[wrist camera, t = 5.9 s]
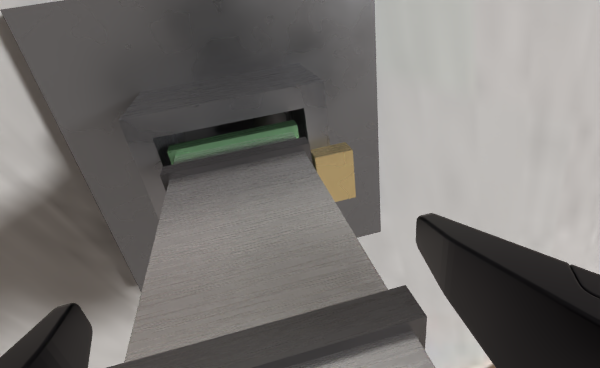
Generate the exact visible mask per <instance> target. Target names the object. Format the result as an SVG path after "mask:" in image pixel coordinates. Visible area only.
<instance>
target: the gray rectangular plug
mask: <svg viewBox="0 0 600 368" xmlns="http://www.w3.org/2000/svg"><path fill="white" fill-rule="evenodd" d="M167 153H168V156H169V158H170V161H171V164H172V165H169V166H164V167H162V170H161V173H160V177H161V180H162V183H163V185H164V188H165V191H166V195H165V199H164V203H163V207H162V211H161V216H160V220H159V224H158V228H157V232H156V236H155V240H154V244H153V248H152V252H151V256H150V260H149V264H148V268H147V272H146V276H145V280H144V284H143V288H142V292H141V296H140V300H139V305H138V309H137V313H136V317H135V321H134V325H133V329H132V333H131V337H130V341H129V345H128V349H127V353H126V357H125V361H124V363H122V364H118V365H115V366H111V367H107V368H435V366H434V365H433V363H432V361H431V360H430V358H429V356H428V355H427V353H426V351H425V338H426V322H427V316H426V315H425V313H424V312H423V310H422V309H421V307H420V306H419V304H418V303H417V301H416V300H415V298H414V297H413V295H412V294H411V292H410V291H409V289H408V288H407V286H406V285H404V286H401V287H397V288H394V289H390V290H388V289H387V287H386V285H385V284H384V282H383V280H382V279H381V277H380V275H379V274H378V272H377V270H376V269H375V267H374V266H373V264H372V262H371V261H370V259H369V257H368V256H367V254H366V252H365V251H364V249H363V247H362V246H361V244H360V242H359V241H358V239H357V237H356V236H355V234H354V233H353V231H352V229H351V228H350V226H349V224H348V223H347V221H346V219H345V218H344V216H343V214H342V213H341V211H340V209H339V208H338V206H337V204H336V203H335V201H334V199H333V198H332V196H331V195H330V193H329V191H328V190H327V188H326V186H325V185H324V183H323V181H322V180H321V178H320V176H319V175H318V173H317V171H316V170H315V168H314V166H313V164H312V157H311V149H310V143H309V142H308V140H307V139H306V137H302V138H299V134H298V127H297V124H296V122H295V121H294V120H291V121H286V122H281V123H276V124H271V125H266V126H261V127H256V128H251V129H246V130H241V131H237V132H232V133H227V134H222V135H217V136H212V137H207V138H202V139H197V140H192V141H187V142H183V143H178V144H173V145H169V147H168V151H167Z"/></svg>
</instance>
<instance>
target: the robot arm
mask: <svg viewBox="0 0 600 368" xmlns="http://www.w3.org/2000/svg"><path fill="white" fill-rule="evenodd" d="M416 243H417V246H418V249H419V250H420V252H421V254H422V256H423V258H424V259H425V261H426V263H427V265H428V267H429V268H430V270H431V272H432V274H433V276H434V277H435V279H436V281H437V283H438V285H439V286H440V288H441V290H442V291H443V293H444V295H445V296H446V298H447V299H448V301H449V302H450V304H451V305H452V306H453V308H454V309H455V311H456V312H457V313H458V315H459V316H460V318H461V319H462V320H463V322H464V323H465V325H466V326H467V328H468V329H469V330H470V332H471V333H472V335H473V336H474V337H475V339H476V340H477V342H478V343H479V344H480V346H481V347H482V349H483V350H484V351H485V353H486V354H487V356H488V357H489V359H490V360H491V361H492V363H493V364H494V365H495V367H496V368H600V275H599V274H596V273H594V272H591V271H588V270H585V269H583V268H580V267H577V266H575V265H570V266H569V264H568V263H566V262H564V261H561V260H558V259H555V258H553V257H550V256H547V255H545V254H542V253H539V252H537V251H534V250H531V249H528V248H526V247H523V246H520V245H518V244H515V243H512V242H509V241H507V240H504V239H501V238H499V237H496V236H493V235H491V234H488V233H485V232H482V231H480V230H477V229H474V228H472V227H469V226H466V225H463V224H461V223H458V222H455V221H453V220H450V219H447V218H445V217H442V216H439V215H436V214H433V213H429V214H425V215H421V216H419V217H418V218H417V224H416ZM91 341H92V326H91V324H90V322H89V321H88V319H87V318H86V316H85V314H84V313H83V311H82V310H81V308H80V307H79V305H77V304H76V303H71V304H67V305H63V306H59V307H57V308H55V309H54V310H53V311H51V312H50V313H49V314H48V315H47V316H46V317H45V318H44V319H43V320H41V321H40V322H39V323H38V324H37V325H36V326H35V327H34V328H33V329H31V330H30V331H29V332H28V333H27V334H26V335H25V336H24V337H23V338H21V339H20V340H19V341H18V342H17V343H16V344H15V345H14V346H13V347H11V348H10V349H9V350H8V351H7V352H6V353H5V354H4V355H3V356H1V357H0V368H88V363H89V355H90V348H91Z"/></svg>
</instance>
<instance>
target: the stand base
mask: <svg viewBox="0 0 600 368" xmlns="http://www.w3.org/2000/svg"><path fill="white" fill-rule="evenodd" d="M1 12H2V14H3V16H4V18H5V20H6V22H7V24H8V26H9V28H10V30H11V32H12V34H13V36H14V38H15V40H16V42H17V44H18V46H19V48H20V50H21V52H22V54H23V56H24V58H25V60H26V62H27V64H28V66H29V68H30V70H31V72H32V74H33V76H34V78H35V80H36V82H37V84H38V86H39V88H40V90H41V92H42V94H43V96H44V98H45V100H46V102H47V104H48V106H49V108H50V110H51V112H52V114H53V116H54V118H55V120H56V122H57V124H58V126H59V128H60V130H61V132H62V134H63V136H64V138H65V140H66V142H67V144H68V146H69V148H70V150H71V152H72V154H73V156H74V158H75V160H76V162H77V164H78V166H79V168H80V170H81V172H82V174H83V176H84V178H85V180H86V182H87V184H88V186H89V188H90V190H91V192H92V195H93V197H94V199H95V201H96V203H97V205H98V207H99V209H100V211H101V213H102V215H103V217H104V219H105V221H106V223H107V225H108V227H109V229H110V231H111V233H112V235H113V237H114V239H115V241H116V243H117V245H118V247H119V249H120V251H121V253H122V255H123V257H124V259H125V261H126V263H127V265H128V267H129V269H130V271H131V273H132V275H133V277H134V279H135V281H136V283H137V285H138V287H139V289H140V291H141V292H142V288H143V284H144V280H145V276H146V272H147V268H148V264H149V260H150V256H151V252H152V248H153V244H154V240H155V236H156V232H157V228H158V224H159V220H160V216H161V211H162V207H163V203H164V199H165V195H166V191H165V188H164V185H163V183H162V180H161V177H160V173H161V170H162V167H164V166H169V165H172V164H171V161H170V158H169V156H168V153H167V151H168V147H169V145H173V144H178V143H183V142H187V141H192V140H197V139H202V138H207V137H212V136H217V135H222V134H227V133H232V132H237V131H241V130H246V129H251V128H256V127H261V126H266V125H271V124H276V123H281V122H286V121H291V120H294V121H295V122H296V124H297V127H298V134H299V138H302V137H306V139H307V140H308V142H309V143H310V149H311V157H312V164H313V166H314V168H315V170H316V171H317V173H318V175H319V176H320V178H321V180H322V181H323V183H324V185H325V186H326V188H327V190H328V191H329V193H330V195H331V196H332V198H333V199H334V201H335V203H336V204H337V206H338V208H339V209H340V211H341V213H342V214H343V216H344V218H345V219H346V221H347V223H348V224H349V226H350V228H351V229H352V231H353V233H354V234H355V236H356V237H361V236H365V235H369V234H373V233H377V232H381V226H380V189H379V152H378V115H377V78H376V41H375V4H374V0H64V1H57V2H50V3H44V4H37V5H30V6H23V7H16V8H10V9H3V10H1Z"/></svg>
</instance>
